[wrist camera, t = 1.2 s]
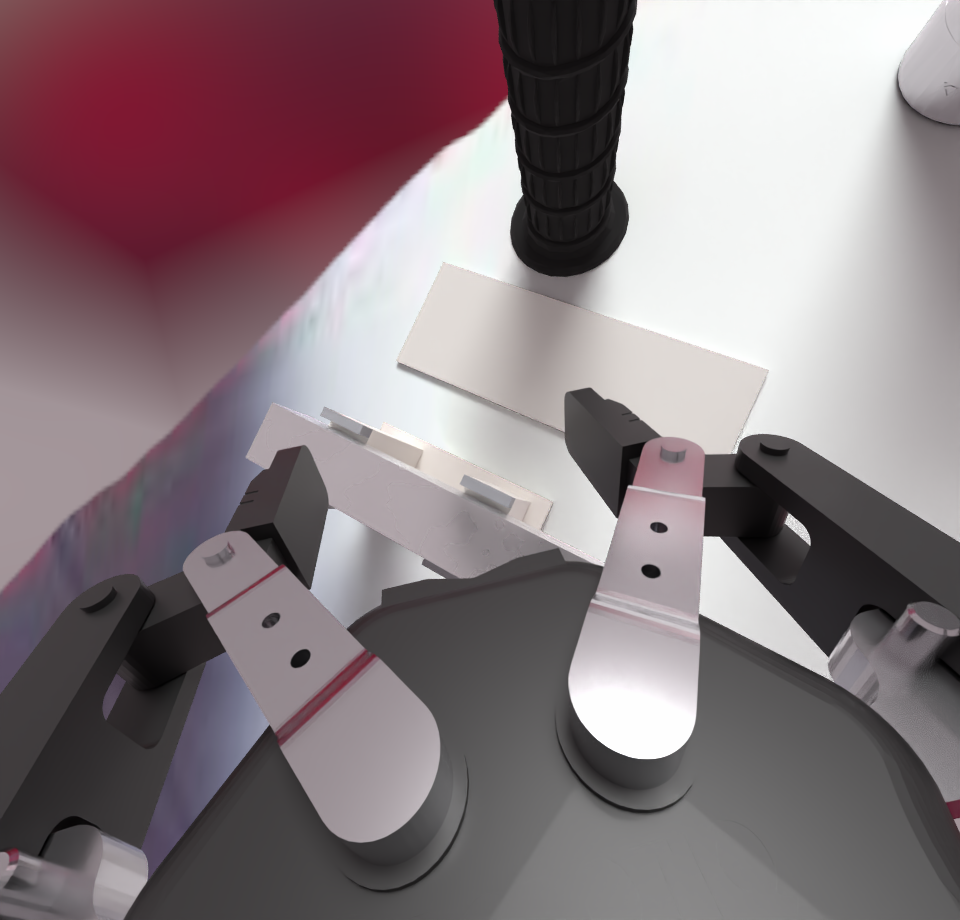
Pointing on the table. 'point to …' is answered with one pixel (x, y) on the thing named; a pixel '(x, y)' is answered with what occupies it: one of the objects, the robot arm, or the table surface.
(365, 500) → the rail
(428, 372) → the mat
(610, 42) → the handle grip
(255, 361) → the table surface
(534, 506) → the rack
